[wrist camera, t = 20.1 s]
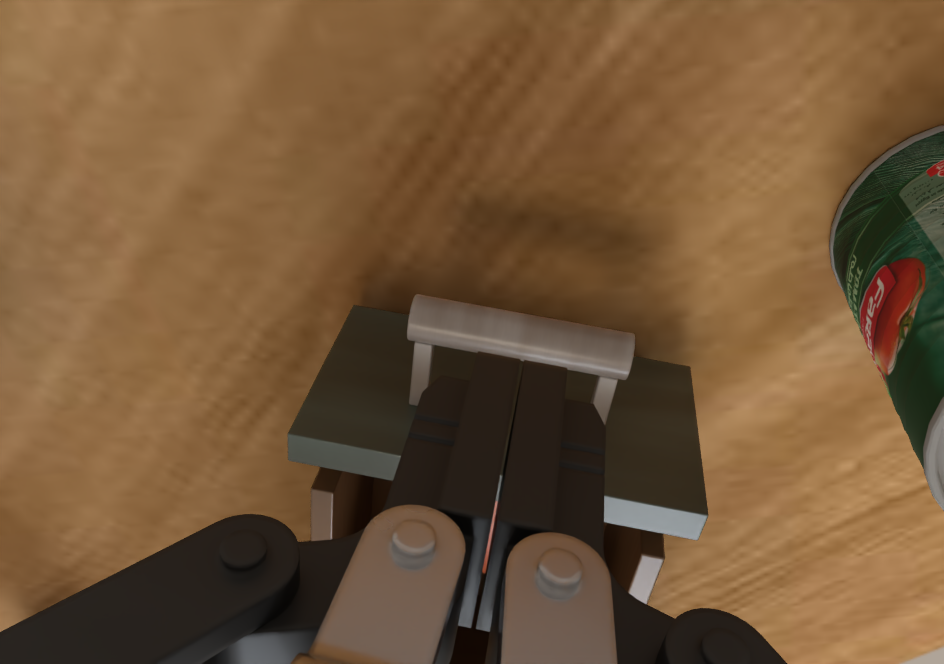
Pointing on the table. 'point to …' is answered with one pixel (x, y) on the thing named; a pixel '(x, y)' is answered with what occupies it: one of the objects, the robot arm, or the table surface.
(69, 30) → the table surface
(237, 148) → the table surface
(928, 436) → the canned tomato
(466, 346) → the drawer
